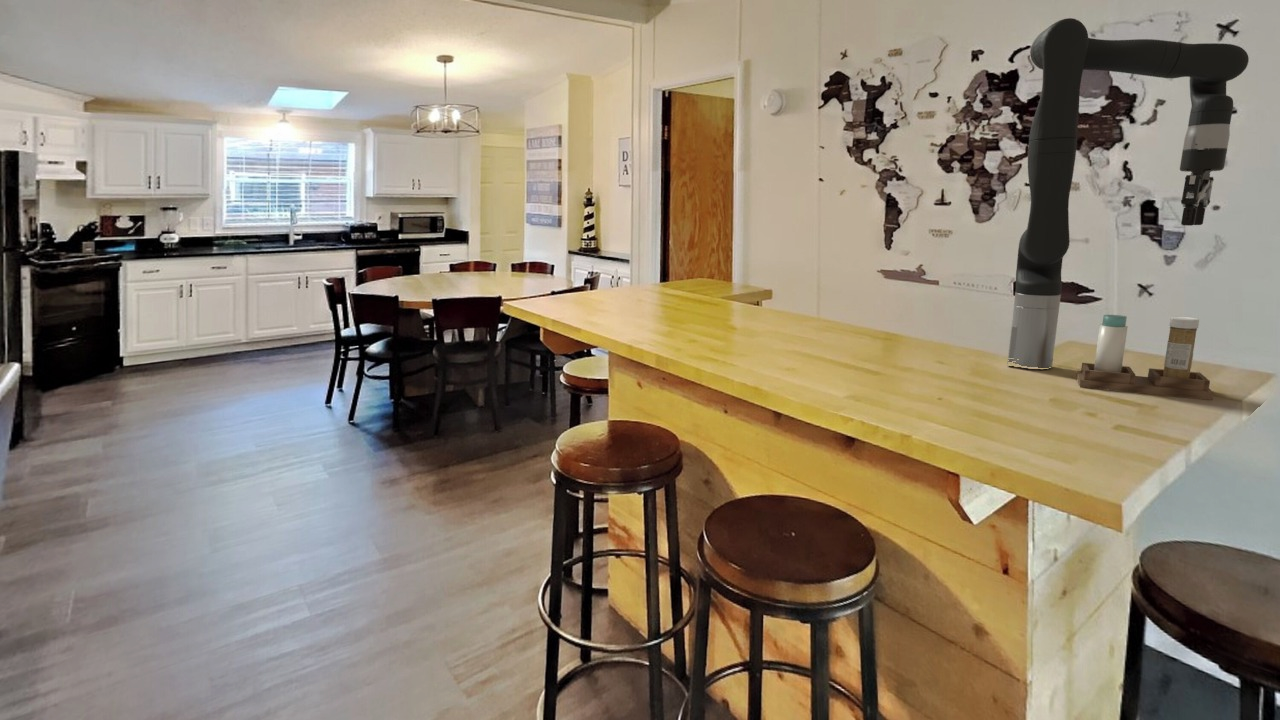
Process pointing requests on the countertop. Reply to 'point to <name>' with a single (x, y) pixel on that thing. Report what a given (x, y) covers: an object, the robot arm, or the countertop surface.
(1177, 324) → the sprinkles bottle
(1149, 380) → the pocket board
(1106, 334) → the bottle
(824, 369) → the countertop surface
